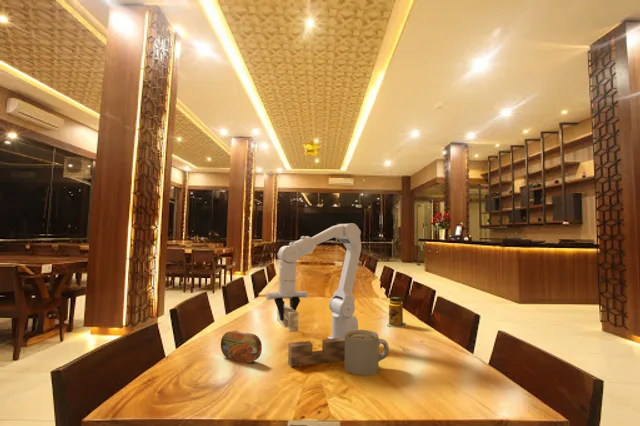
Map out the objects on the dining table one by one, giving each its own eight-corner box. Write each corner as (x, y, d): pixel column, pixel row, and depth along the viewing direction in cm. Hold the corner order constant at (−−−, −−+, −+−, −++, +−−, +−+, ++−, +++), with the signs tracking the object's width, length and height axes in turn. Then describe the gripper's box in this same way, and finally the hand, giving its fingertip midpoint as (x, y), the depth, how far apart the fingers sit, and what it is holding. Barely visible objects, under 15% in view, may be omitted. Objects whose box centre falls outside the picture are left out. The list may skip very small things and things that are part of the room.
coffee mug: (346, 375, 91) (346, 339, 92) (343, 361, 101) (343, 329, 102) (393, 376, 91) (393, 339, 92) (386, 362, 101) (386, 329, 102)
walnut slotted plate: (341, 356, 106) (341, 337, 106) (345, 359, 103) (345, 340, 103) (288, 363, 99) (288, 343, 100) (291, 367, 96) (291, 346, 97)
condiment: (386, 326, 142) (386, 298, 143) (389, 321, 150) (389, 295, 151) (403, 328, 140) (403, 299, 141) (405, 323, 148) (405, 296, 149)
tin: (219, 356, 104) (220, 329, 105) (226, 353, 107) (227, 327, 108) (256, 366, 97) (257, 337, 98) (263, 362, 100) (263, 334, 101)
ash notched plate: (284, 319, 120) (285, 303, 121) (298, 331, 105) (298, 312, 106) (277, 320, 119) (277, 303, 120) (289, 332, 104) (289, 313, 105)
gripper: (269, 282, 108) (268, 324, 107) (310, 280, 113) (310, 320, 112) (265, 279, 114) (264, 319, 113) (304, 278, 119) (303, 315, 118)
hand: (286, 319), depth 113 cm, fingers closed on ash notched plate, 3 cm apart
